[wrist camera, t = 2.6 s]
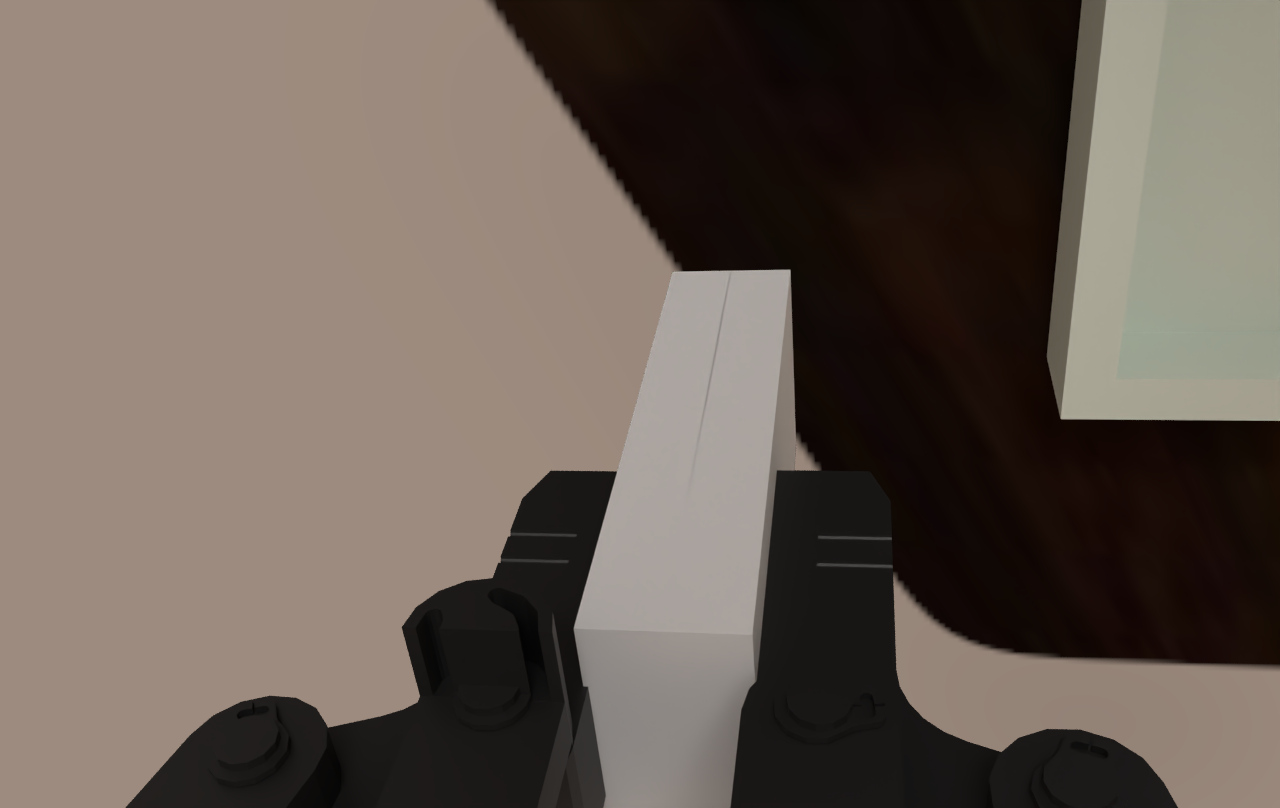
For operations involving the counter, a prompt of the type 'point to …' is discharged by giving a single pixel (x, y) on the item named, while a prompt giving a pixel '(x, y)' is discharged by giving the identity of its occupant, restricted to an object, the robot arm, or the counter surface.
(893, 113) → the counter surface
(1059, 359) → the sliding tray
